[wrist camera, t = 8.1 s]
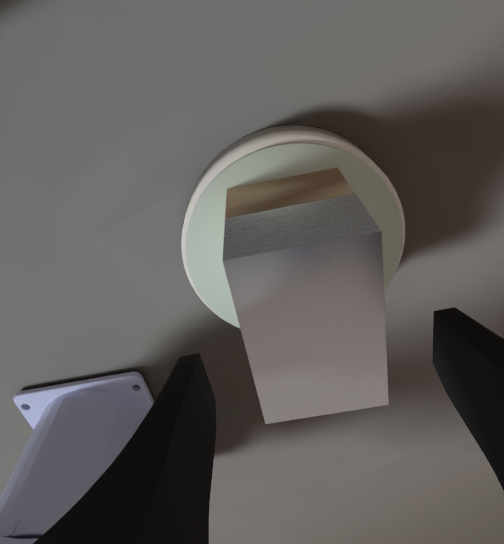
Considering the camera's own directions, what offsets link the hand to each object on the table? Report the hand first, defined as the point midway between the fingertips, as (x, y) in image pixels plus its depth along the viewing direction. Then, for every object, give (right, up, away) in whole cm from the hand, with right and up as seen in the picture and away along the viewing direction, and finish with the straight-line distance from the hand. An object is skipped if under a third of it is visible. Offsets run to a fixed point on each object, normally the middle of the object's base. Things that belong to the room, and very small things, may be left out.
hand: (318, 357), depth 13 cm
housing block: (0, +3, +6) cm, 7 cm away
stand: (0, +5, +8) cm, 9 cm away
